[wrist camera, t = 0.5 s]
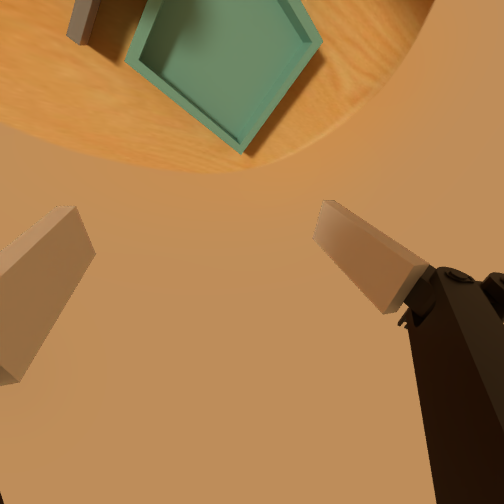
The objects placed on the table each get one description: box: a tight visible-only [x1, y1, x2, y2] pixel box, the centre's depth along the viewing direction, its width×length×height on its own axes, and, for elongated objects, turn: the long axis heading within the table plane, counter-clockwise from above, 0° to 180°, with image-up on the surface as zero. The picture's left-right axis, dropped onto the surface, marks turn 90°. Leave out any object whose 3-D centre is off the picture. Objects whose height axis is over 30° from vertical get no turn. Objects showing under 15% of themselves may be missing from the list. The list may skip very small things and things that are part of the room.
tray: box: [124, 0, 323, 154], centre depth 25 cm, size 16×16×3 cm
